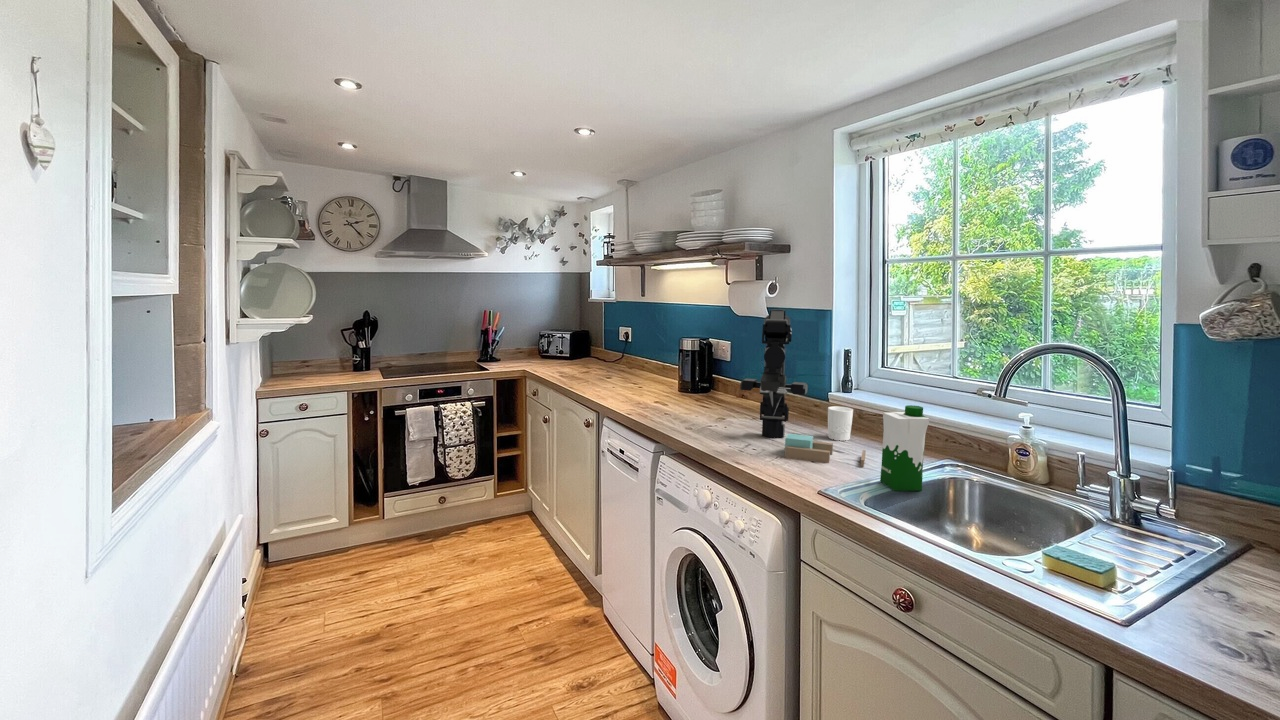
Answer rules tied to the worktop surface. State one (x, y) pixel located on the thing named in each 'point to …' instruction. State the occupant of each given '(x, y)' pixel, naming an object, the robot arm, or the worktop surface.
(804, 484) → the worktop surface
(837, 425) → the white cup
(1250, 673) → the worktop surface
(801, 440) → the block
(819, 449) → the chute
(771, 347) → the robot arm
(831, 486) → the worktop surface
